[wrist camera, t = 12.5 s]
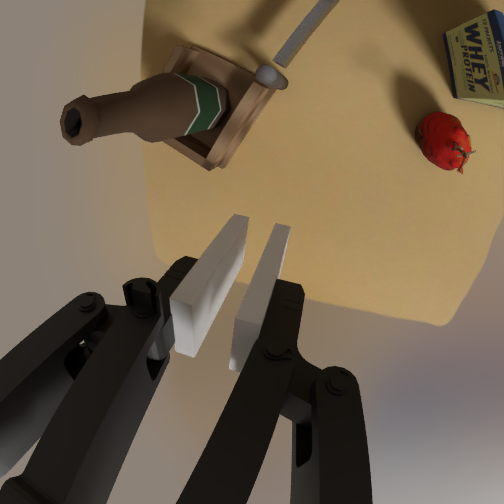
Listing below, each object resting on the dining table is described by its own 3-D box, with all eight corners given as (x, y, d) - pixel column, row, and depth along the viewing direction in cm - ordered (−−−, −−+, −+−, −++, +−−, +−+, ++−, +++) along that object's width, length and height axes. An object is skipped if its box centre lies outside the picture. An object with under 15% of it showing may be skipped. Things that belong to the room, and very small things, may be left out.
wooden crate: (203, 36, 29) (166, 20, 21) (291, 81, 31) (279, 71, 22) (155, 122, 38) (112, 132, 29) (231, 170, 39) (202, 191, 31)
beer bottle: (178, 125, 36) (43, 167, 16) (188, 75, 32) (47, 72, 12) (227, 135, 35) (106, 185, 15) (239, 83, 31) (117, 65, 11)
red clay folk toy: (451, 165, 30) (505, 200, 17) (411, 160, 32) (455, 192, 19) (453, 115, 26) (513, 127, 14) (411, 107, 28) (460, 111, 15)
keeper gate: (330, -4, 18) (330, -19, 15) (339, 1, 19) (340, -14, 15) (276, 63, 25) (269, 56, 21) (285, 68, 25) (279, 62, 21)
